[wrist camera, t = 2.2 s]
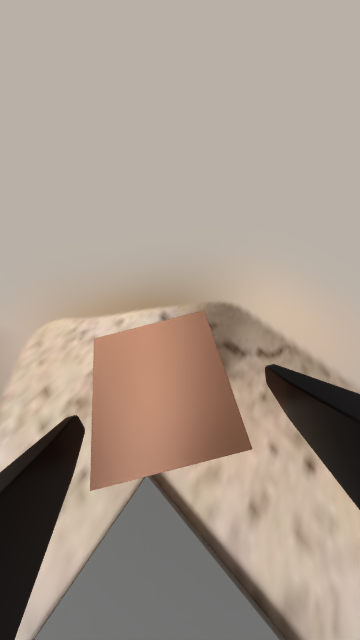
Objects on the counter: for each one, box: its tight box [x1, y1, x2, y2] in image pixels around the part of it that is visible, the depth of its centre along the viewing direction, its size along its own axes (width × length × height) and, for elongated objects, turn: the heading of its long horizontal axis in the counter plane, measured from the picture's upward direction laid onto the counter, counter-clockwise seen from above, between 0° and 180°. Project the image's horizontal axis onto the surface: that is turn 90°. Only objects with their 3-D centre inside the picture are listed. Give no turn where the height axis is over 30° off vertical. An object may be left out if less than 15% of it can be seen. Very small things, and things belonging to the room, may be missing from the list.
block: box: [90, 311, 252, 491], centre depth 10 cm, size 4×4×11 cm
